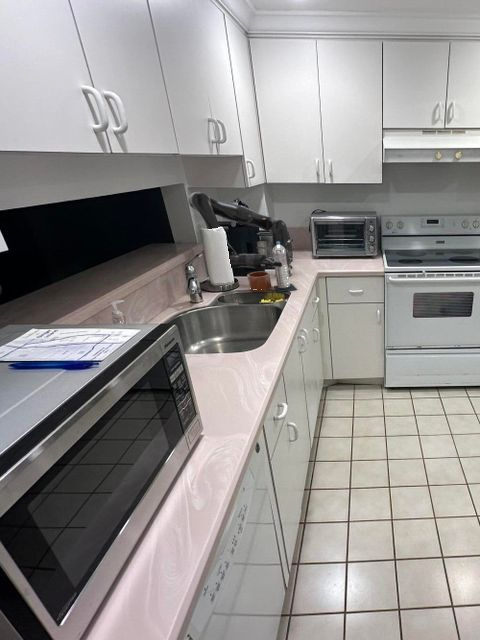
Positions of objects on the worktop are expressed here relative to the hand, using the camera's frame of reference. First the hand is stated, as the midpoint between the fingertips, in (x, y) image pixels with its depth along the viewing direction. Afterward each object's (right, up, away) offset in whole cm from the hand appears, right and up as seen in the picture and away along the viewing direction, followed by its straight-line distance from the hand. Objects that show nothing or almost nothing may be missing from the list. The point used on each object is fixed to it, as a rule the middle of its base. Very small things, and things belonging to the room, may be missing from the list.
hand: (284, 262), depth 206 cm
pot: (-16, -12, +8) cm, 21 cm away
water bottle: (-2, -12, +7) cm, 14 cm away
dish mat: (-2, -12, +8) cm, 15 cm away
